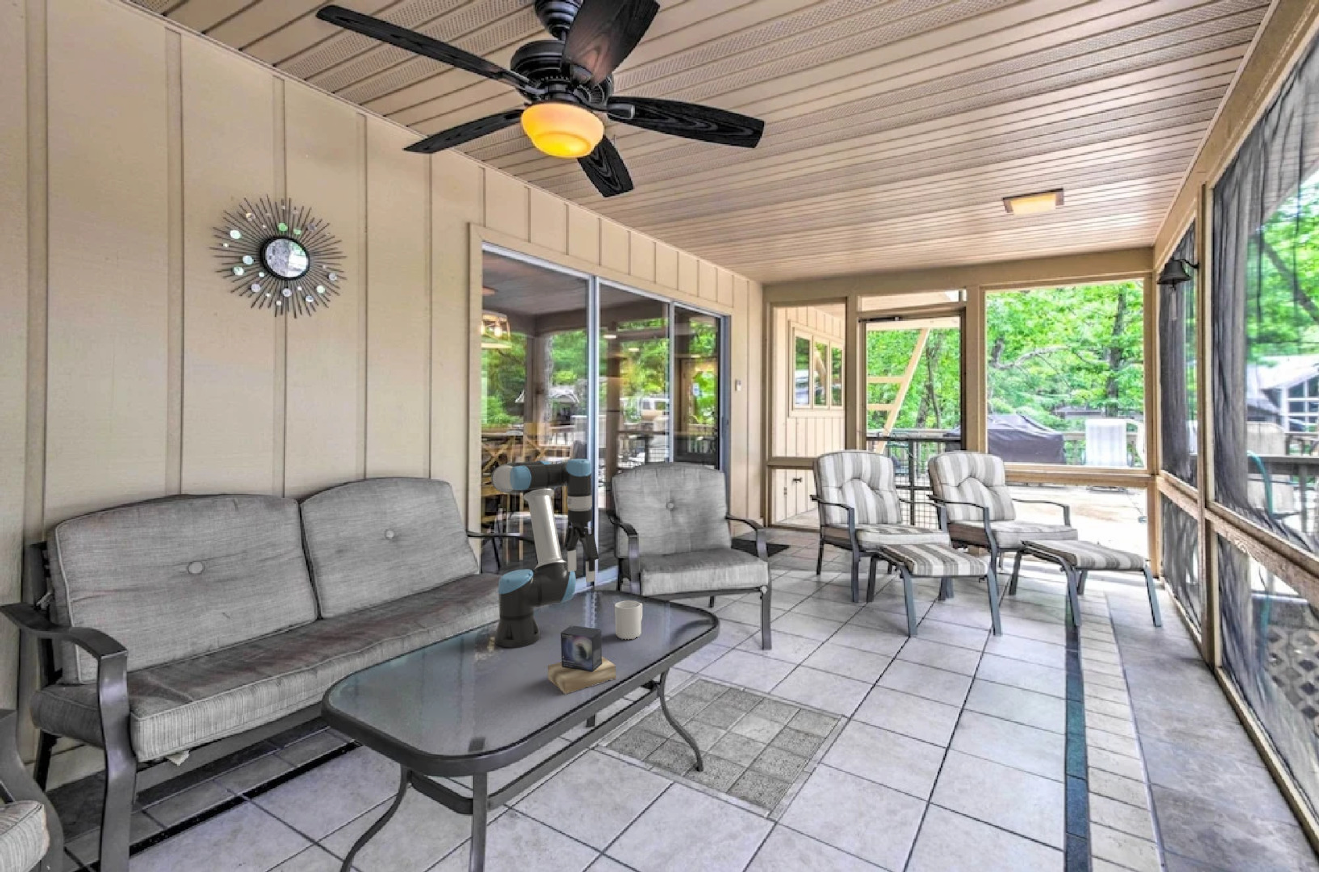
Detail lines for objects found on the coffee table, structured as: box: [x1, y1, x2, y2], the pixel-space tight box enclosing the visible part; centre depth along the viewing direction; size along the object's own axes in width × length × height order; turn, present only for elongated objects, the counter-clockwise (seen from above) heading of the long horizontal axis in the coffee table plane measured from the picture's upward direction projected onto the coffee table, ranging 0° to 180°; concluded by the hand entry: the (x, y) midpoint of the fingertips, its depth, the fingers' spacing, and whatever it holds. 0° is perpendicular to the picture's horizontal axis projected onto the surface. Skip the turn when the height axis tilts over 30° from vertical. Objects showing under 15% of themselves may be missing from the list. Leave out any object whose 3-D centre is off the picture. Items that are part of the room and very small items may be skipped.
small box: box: [560, 625, 603, 672], centre depth 176 cm, size 11×6×10 cm, turn 68°
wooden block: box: [547, 656, 617, 695], centre depth 176 cm, size 12×16×4 cm
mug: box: [614, 600, 643, 641], centre depth 211 cm, size 12×9×11 cm
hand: (581, 576), depth 189 cm, fingers open, 13 cm apart
